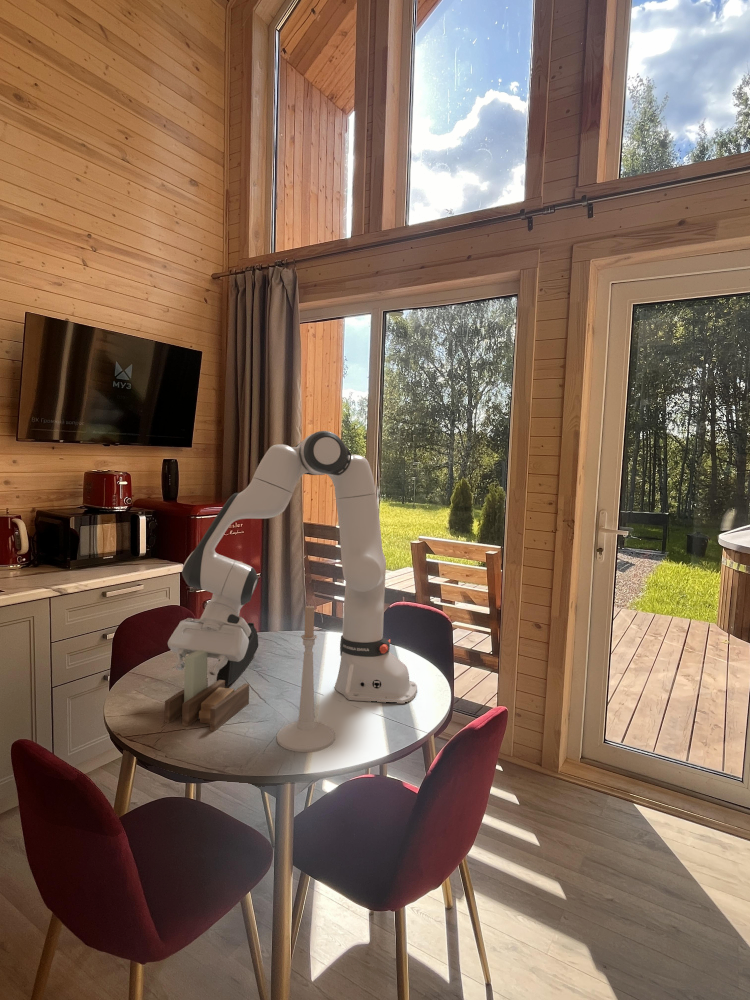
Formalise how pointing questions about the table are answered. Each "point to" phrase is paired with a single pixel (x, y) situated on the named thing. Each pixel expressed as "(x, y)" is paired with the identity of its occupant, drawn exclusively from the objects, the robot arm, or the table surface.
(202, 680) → the tall panel
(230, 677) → the magazine
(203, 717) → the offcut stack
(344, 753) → the table surface
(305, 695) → the candlestick
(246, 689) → the walnut rack
